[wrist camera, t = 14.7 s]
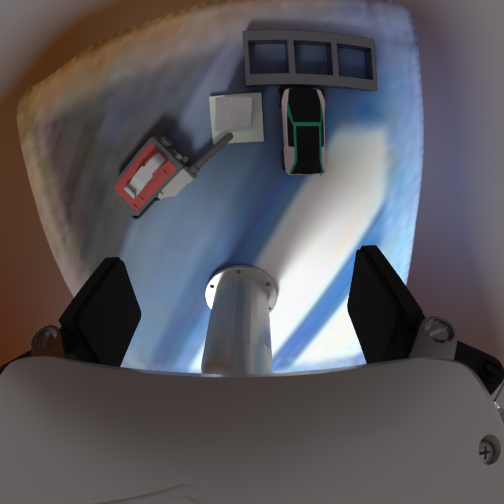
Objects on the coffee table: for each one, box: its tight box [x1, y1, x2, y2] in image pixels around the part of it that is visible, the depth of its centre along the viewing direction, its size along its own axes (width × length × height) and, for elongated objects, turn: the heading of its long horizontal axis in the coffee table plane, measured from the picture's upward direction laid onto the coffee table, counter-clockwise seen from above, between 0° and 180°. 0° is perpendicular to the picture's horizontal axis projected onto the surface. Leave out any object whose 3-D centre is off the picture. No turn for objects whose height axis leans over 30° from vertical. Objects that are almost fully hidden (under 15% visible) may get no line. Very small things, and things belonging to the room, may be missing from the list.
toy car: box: [278, 88, 327, 176], centre depth 33 cm, size 6×12×5 cm, turn 4°
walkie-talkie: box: [110, 133, 233, 219], centre depth 35 cm, size 9×4×20 cm
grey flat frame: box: [243, 30, 377, 91], centre depth 29 cm, size 18×8×2 cm, turn 93°
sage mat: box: [209, 93, 264, 145], centre depth 34 cm, size 7×7×1 cm
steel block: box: [215, 97, 252, 132], centre depth 30 cm, size 4×4×7 cm
